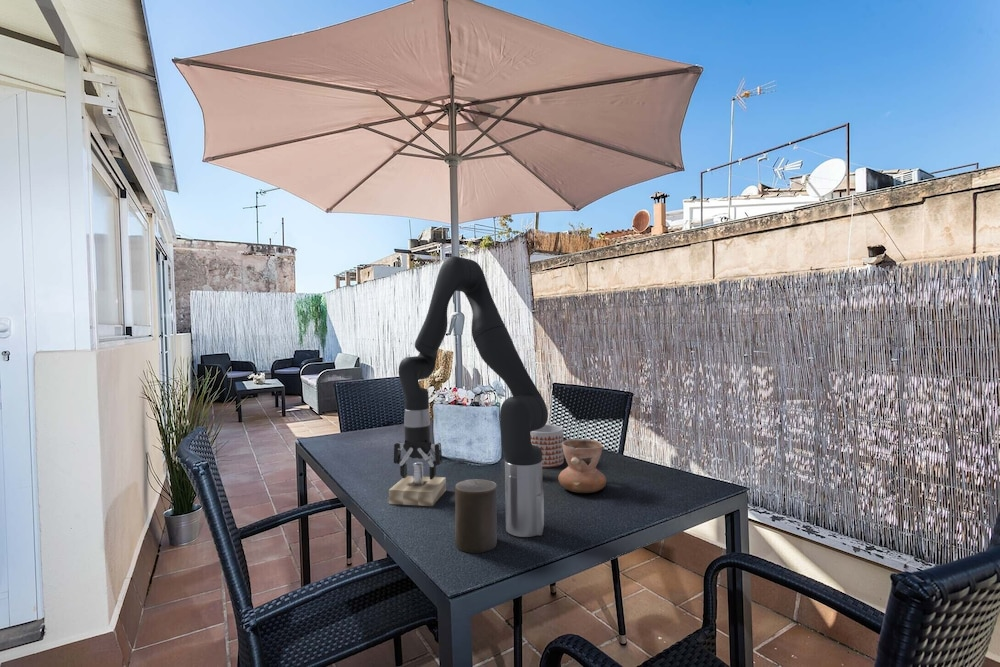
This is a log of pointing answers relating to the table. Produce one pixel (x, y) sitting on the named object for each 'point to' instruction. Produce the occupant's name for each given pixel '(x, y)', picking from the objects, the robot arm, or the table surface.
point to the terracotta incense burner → (582, 466)
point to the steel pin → (418, 474)
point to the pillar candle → (476, 515)
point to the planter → (549, 444)
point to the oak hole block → (417, 491)
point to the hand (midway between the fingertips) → (418, 478)
